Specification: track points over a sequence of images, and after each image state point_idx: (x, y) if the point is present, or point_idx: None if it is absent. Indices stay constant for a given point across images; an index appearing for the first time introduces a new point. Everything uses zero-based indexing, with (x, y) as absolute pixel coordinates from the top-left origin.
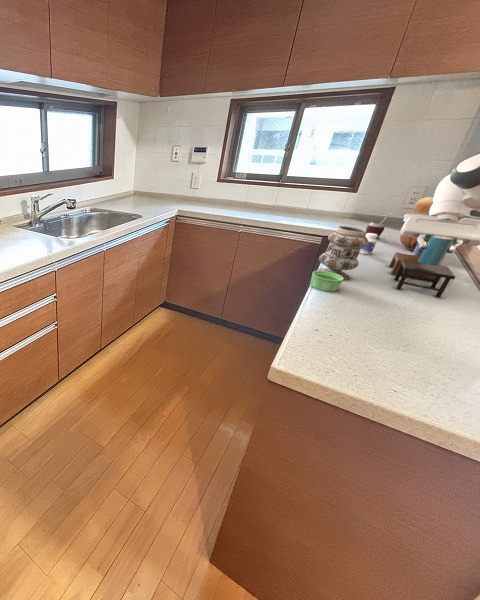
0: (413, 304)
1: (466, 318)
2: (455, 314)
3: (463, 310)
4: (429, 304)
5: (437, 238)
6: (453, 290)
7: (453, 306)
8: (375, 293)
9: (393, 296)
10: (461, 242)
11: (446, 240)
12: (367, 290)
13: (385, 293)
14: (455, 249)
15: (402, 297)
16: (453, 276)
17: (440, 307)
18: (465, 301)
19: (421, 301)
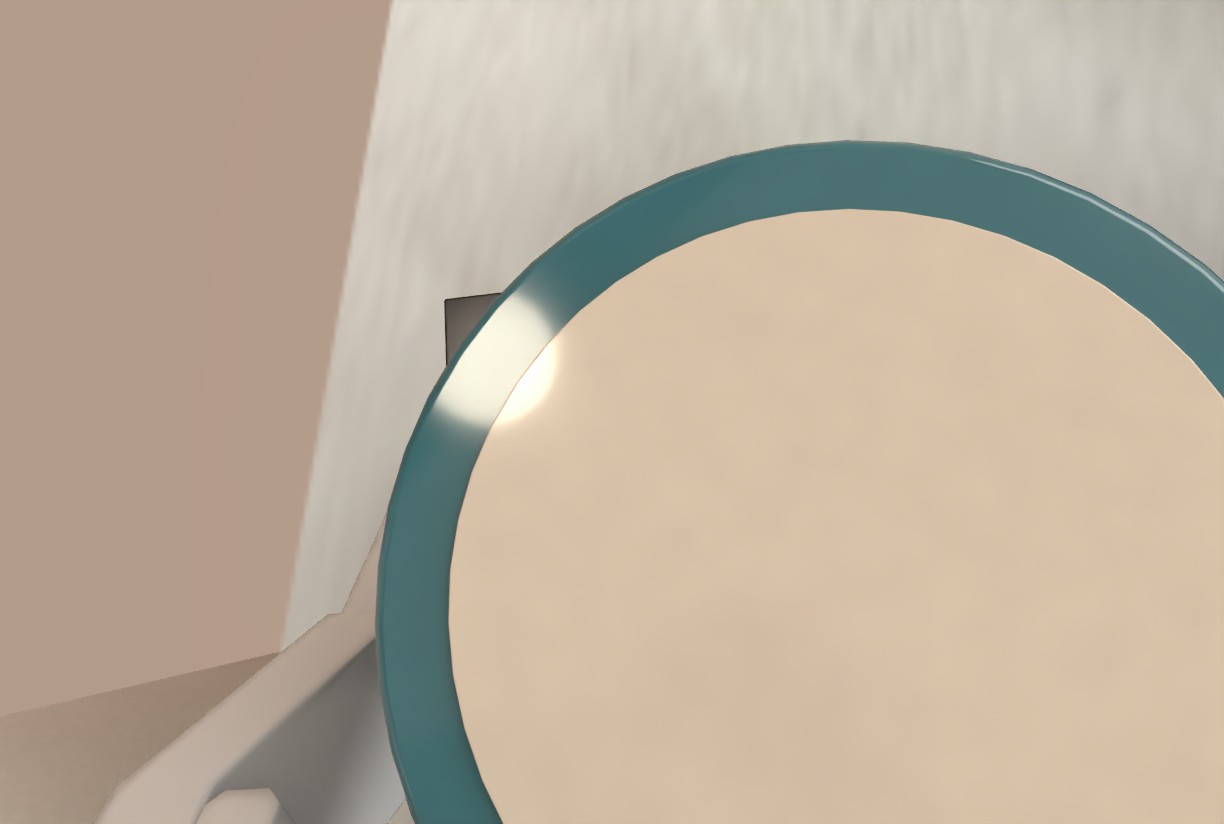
0: (753, 10)
1: (427, 11)
2: (484, 36)
3: (417, 188)
4: (639, 120)
5: (1046, 177)
6: (405, 811)
7: (472, 231)
8: (1064, 37)
9: (912, 87)
10: (146, 792)
11: (684, 187)
12: (1146, 65)
13: (985, 116)
14: (384, 519)
15: (840, 125)
16: (462, 297)
17: (567, 115)
18: (362, 475)
19: (695, 148)
